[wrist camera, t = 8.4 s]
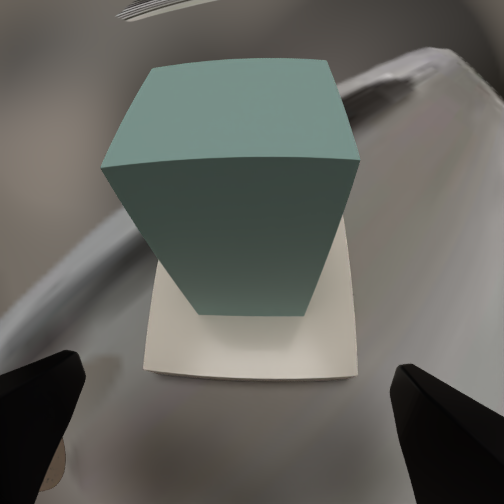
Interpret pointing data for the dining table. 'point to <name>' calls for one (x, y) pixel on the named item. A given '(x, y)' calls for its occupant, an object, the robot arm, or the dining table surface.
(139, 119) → the teal block
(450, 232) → the dining table surface
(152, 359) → the plate
